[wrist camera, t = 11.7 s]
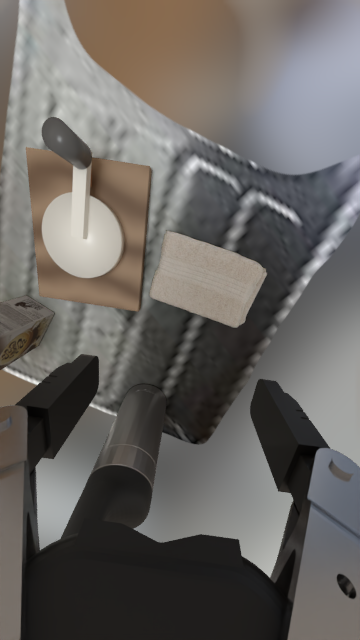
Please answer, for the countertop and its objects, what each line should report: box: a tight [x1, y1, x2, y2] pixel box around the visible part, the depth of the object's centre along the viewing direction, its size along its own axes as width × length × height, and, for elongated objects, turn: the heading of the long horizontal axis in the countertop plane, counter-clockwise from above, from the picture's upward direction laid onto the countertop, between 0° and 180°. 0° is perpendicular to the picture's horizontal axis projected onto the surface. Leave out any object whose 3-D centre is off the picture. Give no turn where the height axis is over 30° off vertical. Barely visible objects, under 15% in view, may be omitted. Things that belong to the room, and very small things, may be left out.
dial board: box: [26, 147, 152, 311], centre depth 33 cm, size 22×18×2 cm
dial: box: [42, 117, 124, 278], centre depth 28 cm, size 18×12×8 cm
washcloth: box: [149, 230, 267, 328], centre depth 35 cm, size 12×18×3 cm, turn 72°
